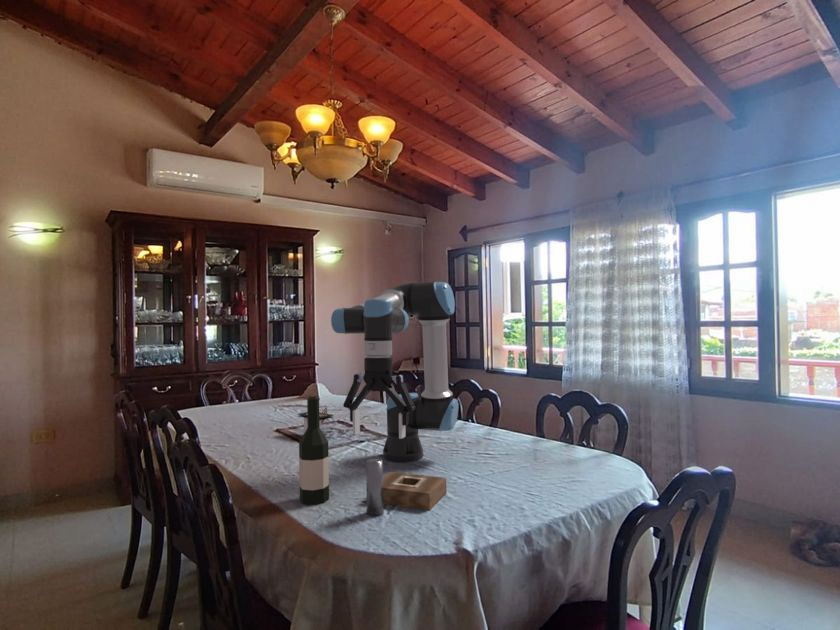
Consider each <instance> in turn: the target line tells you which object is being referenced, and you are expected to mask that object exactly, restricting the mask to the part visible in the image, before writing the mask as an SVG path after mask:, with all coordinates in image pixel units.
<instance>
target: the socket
mask: <svg viewBox="0 0 840 630" xmlns="http://www.w3.org/2000/svg"><path fill="white" fill-rule="evenodd" d="M446 494H447V477H441V476H440V477H439V476H433V475H431V476H430V475H424V474H423V475H422V474H413V473H405V472H396V471H390V472H389V473H387V474H386V475H383V505H388V506H389V505H391V506H398V507H403V508H413V509H420V510H424V511H425V510H427V511H431V510H432V509H433V508H434V507H435V506H436V504H438V503H439V502H440V500H442V498H443V497H444V496H446Z"/></svg>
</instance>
